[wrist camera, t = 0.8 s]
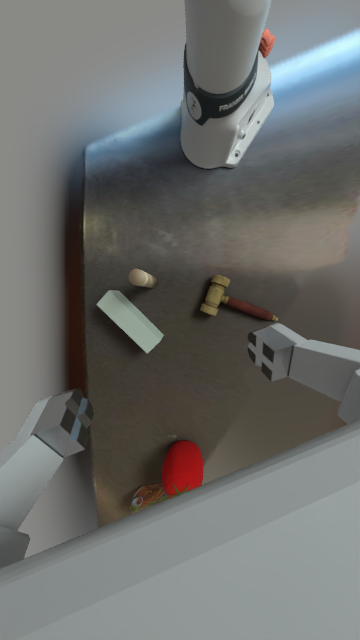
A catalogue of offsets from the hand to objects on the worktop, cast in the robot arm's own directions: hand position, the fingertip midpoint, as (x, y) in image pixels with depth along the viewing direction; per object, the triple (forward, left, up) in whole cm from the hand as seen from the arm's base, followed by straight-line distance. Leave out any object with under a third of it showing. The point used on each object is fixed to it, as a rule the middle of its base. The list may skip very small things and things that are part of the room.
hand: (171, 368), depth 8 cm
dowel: (+2, -11, -40) cm, 41 cm away
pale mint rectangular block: (+13, -7, -40) cm, 43 cm away
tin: (+51, +38, -40) cm, 75 cm away
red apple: (+33, +33, -40) cm, 61 cm away
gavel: (-11, +11, -40) cm, 43 cm away
